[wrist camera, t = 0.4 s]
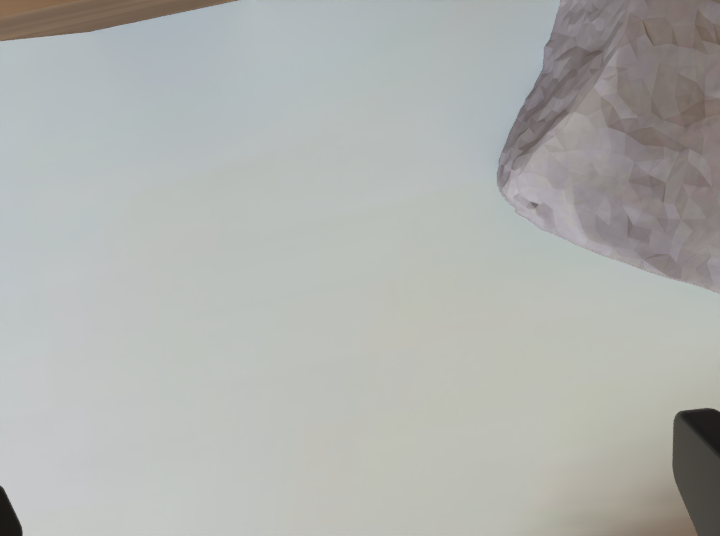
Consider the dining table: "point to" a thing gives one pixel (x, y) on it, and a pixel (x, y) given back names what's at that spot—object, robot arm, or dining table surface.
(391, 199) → the dining table surface
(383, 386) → the dining table surface
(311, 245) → the dining table surface
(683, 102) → the stone block
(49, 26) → the domino
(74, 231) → the dining table surface
